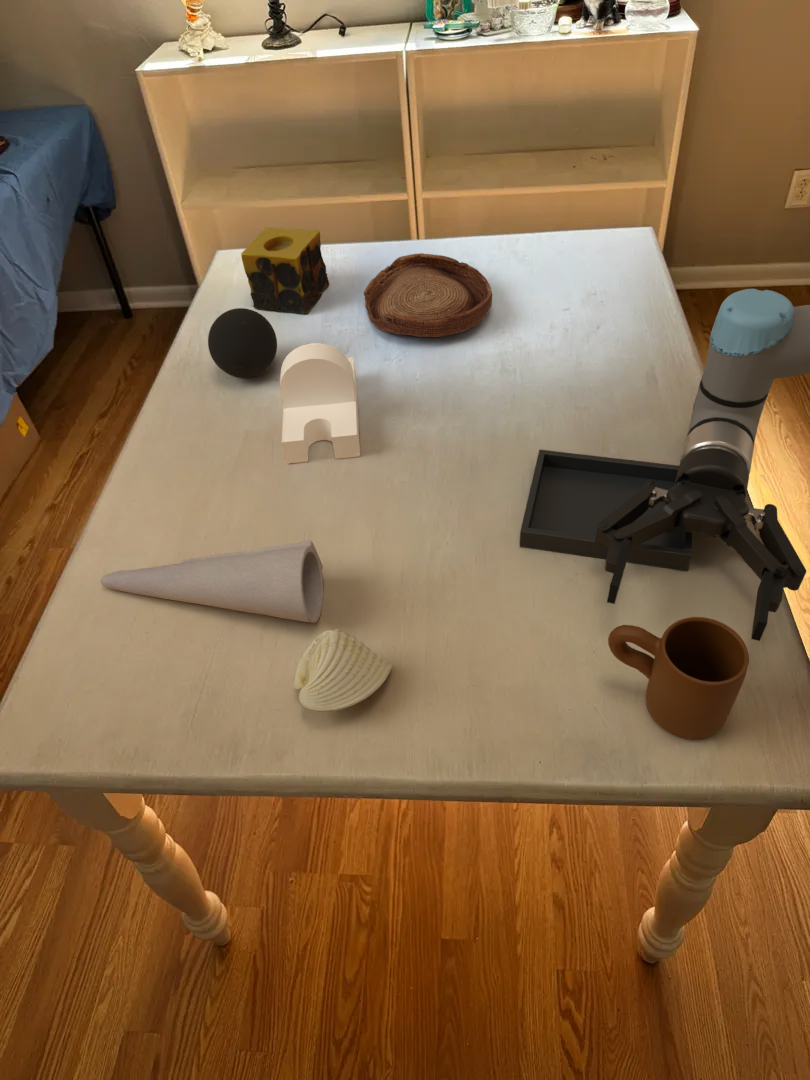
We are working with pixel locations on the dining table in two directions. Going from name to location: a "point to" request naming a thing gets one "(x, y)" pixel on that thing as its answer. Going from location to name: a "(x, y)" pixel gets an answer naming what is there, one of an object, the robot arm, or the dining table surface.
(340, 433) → the block with arch cutout
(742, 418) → the robot arm
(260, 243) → the candle
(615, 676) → the dining table surface
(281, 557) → the planter
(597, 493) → the tray
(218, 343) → the speaker
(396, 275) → the basket
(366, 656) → the seashell
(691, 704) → the mug
